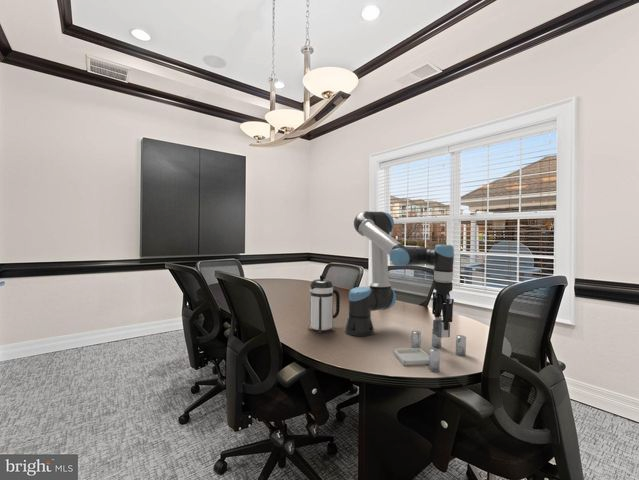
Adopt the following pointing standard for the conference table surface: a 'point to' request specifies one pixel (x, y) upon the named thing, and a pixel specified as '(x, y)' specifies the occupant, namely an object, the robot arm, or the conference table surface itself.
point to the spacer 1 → (416, 339)
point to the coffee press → (322, 304)
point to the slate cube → (439, 328)
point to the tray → (411, 356)
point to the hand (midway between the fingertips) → (441, 334)
